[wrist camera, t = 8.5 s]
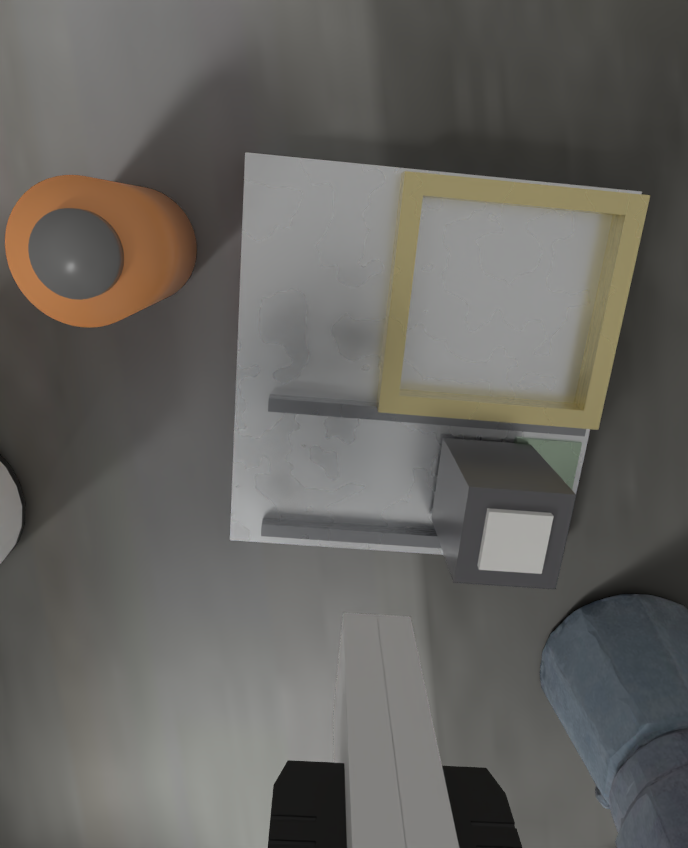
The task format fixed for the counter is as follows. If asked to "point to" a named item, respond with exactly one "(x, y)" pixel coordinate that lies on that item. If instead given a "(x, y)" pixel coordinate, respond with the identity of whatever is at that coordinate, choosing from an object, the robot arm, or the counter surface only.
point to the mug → (10, 509)
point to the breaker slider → (500, 514)
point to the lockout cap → (97, 248)
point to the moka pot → (627, 710)
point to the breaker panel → (413, 338)
